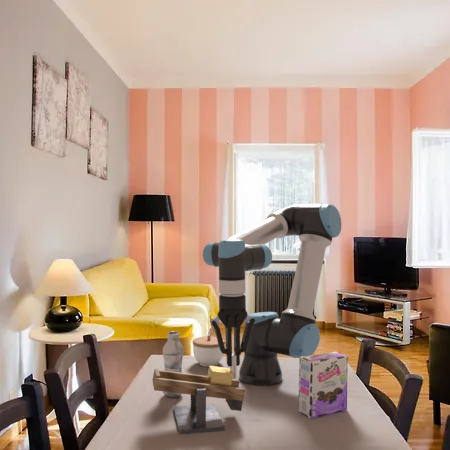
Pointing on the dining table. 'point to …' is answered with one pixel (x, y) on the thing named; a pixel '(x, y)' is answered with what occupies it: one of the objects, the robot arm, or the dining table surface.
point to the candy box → (323, 384)
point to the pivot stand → (198, 415)
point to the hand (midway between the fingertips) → (233, 377)
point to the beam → (198, 387)
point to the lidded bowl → (207, 350)
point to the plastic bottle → (173, 357)
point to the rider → (219, 376)
